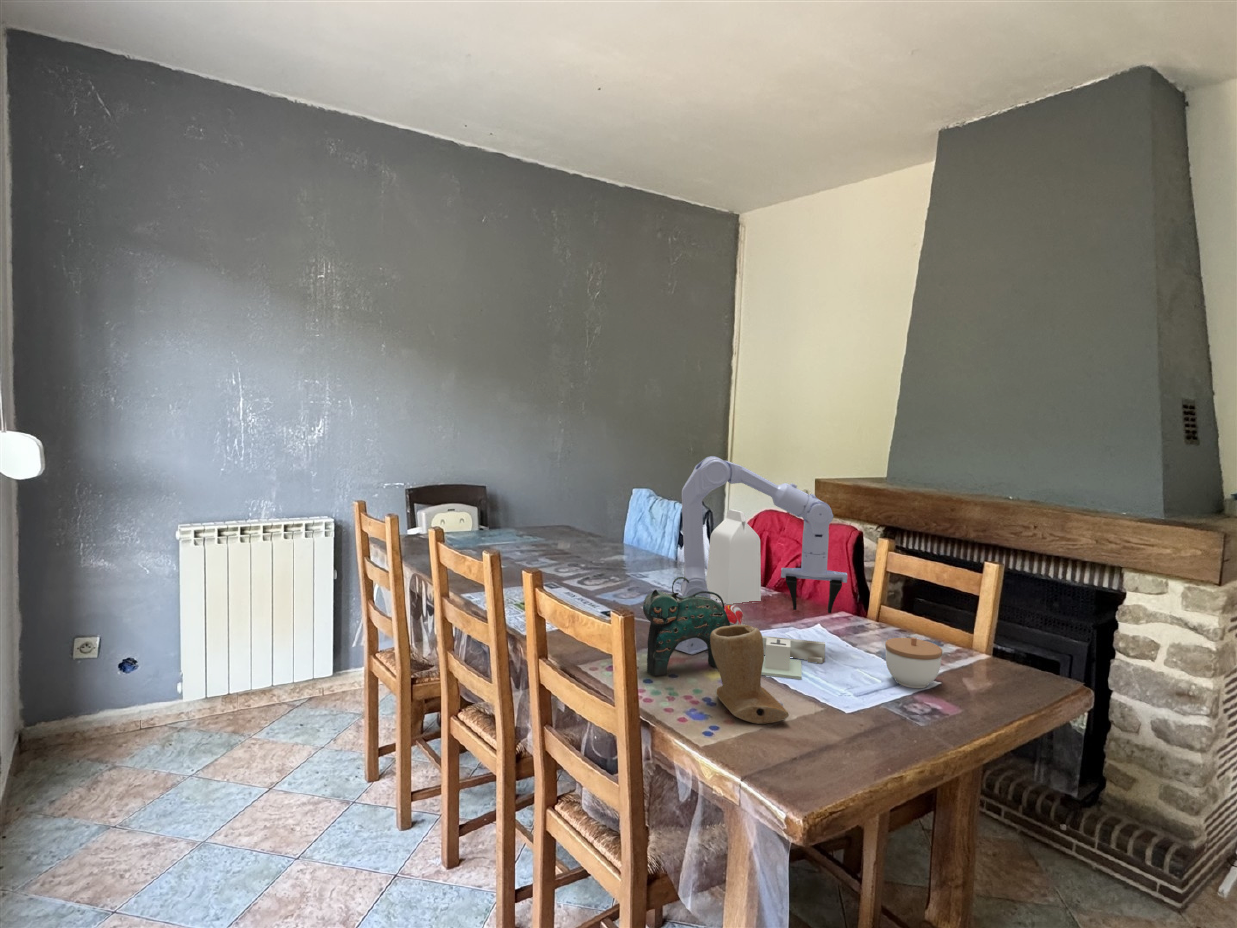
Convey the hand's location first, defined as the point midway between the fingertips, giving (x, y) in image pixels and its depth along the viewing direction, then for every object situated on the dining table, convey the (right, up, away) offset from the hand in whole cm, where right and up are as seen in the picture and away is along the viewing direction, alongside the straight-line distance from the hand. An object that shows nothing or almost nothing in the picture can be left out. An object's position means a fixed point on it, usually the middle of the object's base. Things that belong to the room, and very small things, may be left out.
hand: (812, 610), depth 161 cm
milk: (-11, -6, +46) cm, 47 cm away
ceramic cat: (-30, -10, -13) cm, 35 cm away
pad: (-11, -10, -11) cm, 19 cm away
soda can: (-17, -4, +13) cm, 21 cm away
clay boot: (-22, -11, -33) cm, 41 cm away
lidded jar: (+16, -11, -17) cm, 26 cm away
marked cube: (-11, -9, -11) cm, 18 cm away
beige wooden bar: (-9, -9, -4) cm, 13 cm away
